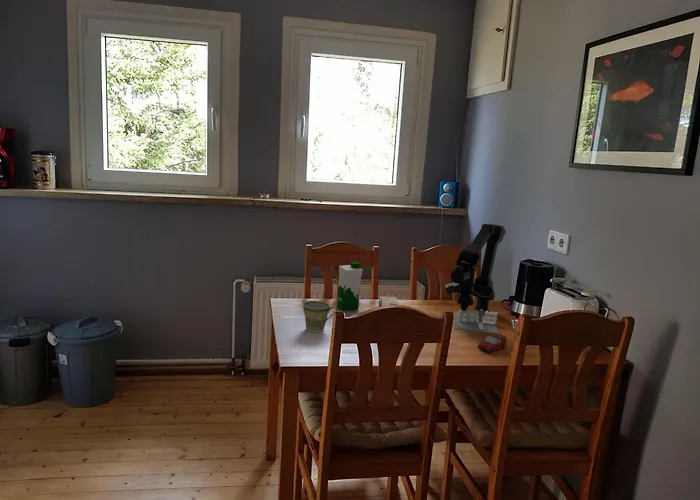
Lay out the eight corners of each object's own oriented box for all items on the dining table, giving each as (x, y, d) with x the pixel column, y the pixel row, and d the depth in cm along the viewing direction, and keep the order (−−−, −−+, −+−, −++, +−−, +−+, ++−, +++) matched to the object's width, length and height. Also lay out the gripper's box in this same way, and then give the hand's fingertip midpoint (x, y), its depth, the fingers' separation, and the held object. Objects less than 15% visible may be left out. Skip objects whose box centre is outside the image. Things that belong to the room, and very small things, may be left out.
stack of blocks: (377, 317, 218) (379, 289, 216) (392, 319, 218) (395, 290, 216) (379, 336, 197) (382, 305, 195) (395, 338, 197) (398, 306, 195)
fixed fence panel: (478, 322, 222) (479, 310, 221) (478, 321, 224) (479, 309, 223) (495, 324, 221) (497, 312, 220) (495, 323, 223) (497, 311, 222)
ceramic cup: (302, 334, 193) (304, 308, 191) (300, 324, 202) (302, 300, 200) (337, 335, 195) (339, 309, 193) (334, 325, 204) (336, 301, 202)
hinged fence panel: (476, 320, 223) (477, 310, 222) (477, 321, 222) (478, 311, 221) (458, 319, 222) (459, 309, 221) (459, 320, 221) (460, 310, 220)
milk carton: (361, 310, 226) (365, 265, 222) (341, 311, 222) (345, 265, 218) (352, 303, 233) (356, 260, 229) (333, 305, 230) (337, 260, 225)
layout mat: (454, 312, 233) (454, 311, 233) (494, 317, 231) (494, 316, 231) (455, 328, 212) (455, 328, 212) (498, 334, 209) (498, 334, 209)
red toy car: (476, 350, 193) (477, 336, 192) (493, 343, 200) (495, 331, 199) (490, 355, 188) (491, 341, 187) (507, 348, 196) (509, 335, 195)
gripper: (447, 270, 229) (443, 304, 233) (447, 282, 212) (442, 318, 215) (473, 273, 228) (469, 307, 231) (475, 286, 210) (470, 322, 214)
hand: (462, 313), depth 223 cm, fingers closed
